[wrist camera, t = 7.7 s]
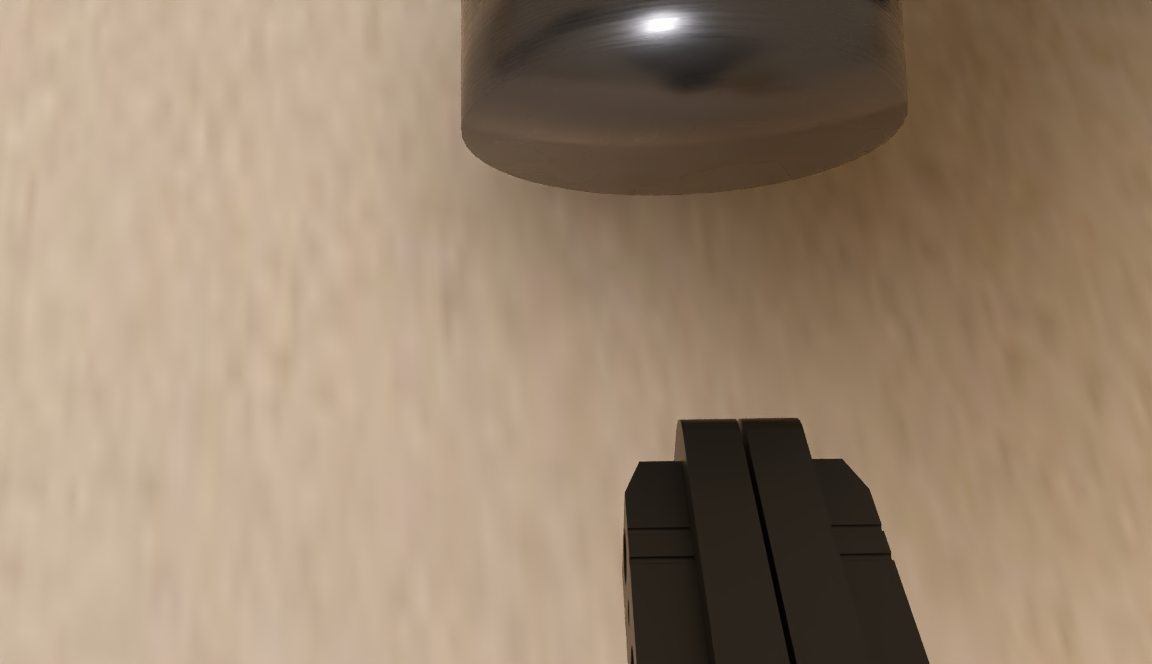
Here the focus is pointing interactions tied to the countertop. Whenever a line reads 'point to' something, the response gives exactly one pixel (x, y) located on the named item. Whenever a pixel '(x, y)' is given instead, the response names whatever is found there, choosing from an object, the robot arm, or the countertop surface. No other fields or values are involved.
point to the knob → (678, 90)
